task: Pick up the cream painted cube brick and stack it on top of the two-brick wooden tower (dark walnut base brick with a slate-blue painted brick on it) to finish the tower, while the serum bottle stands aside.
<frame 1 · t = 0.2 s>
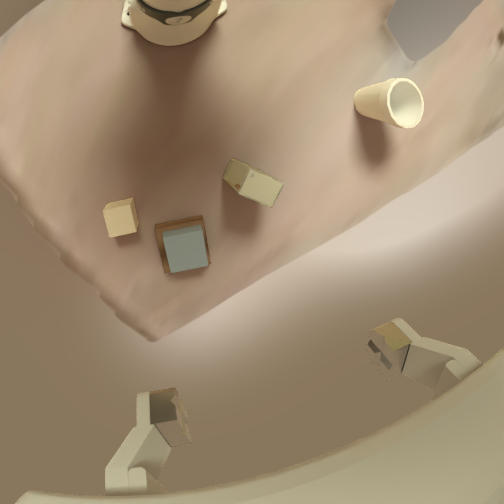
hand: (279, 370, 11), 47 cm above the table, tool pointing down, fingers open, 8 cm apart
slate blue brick: (185, 245, 56), point 2 cm above the table, touching walnut base brick
skincare box: (241, 174, 56), on the table
foam cup: (365, 102, 55), on the table
cream brick: (123, 213, 53), on the table
walnut base brick: (182, 240, 58), on the table, touching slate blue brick
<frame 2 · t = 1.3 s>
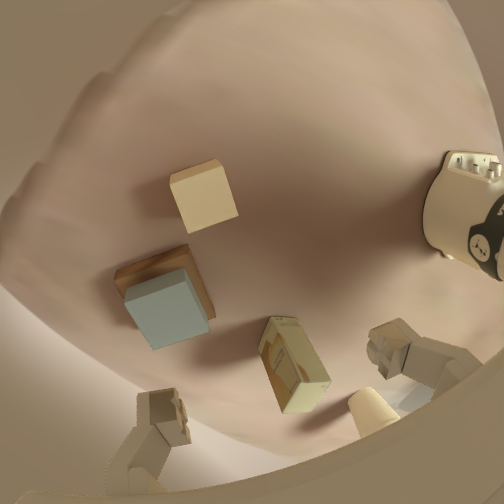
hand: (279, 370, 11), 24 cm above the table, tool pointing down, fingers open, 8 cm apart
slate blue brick: (167, 302, 33), point 2 cm above the table
skincare box: (276, 333, 43), on the table
foam cup: (360, 396, 57), on the table
cream brick: (200, 188, 32), on the table
walnut base brick: (166, 286, 36), on the table
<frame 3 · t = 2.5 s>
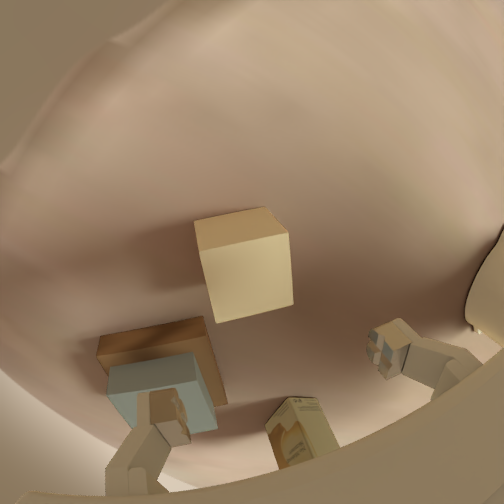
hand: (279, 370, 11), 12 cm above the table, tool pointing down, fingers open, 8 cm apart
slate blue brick: (164, 387, 23), point 2 cm above the table, touching walnut base brick
skincare box: (288, 411, 33), on the table
cream brick: (234, 245, 22), on the table
walnut base brick: (165, 360, 26), on the table, touching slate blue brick
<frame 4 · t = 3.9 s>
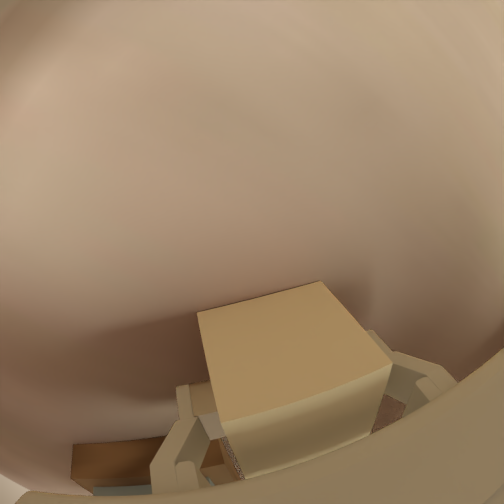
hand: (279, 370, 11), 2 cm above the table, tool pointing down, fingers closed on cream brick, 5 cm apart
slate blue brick: (168, 501, 14), point 2 cm above the table, touching walnut base brick
cream brick: (267, 343, 13), on the table, touching gripper
walnut base brick: (164, 463, 16), on the table, touching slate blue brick
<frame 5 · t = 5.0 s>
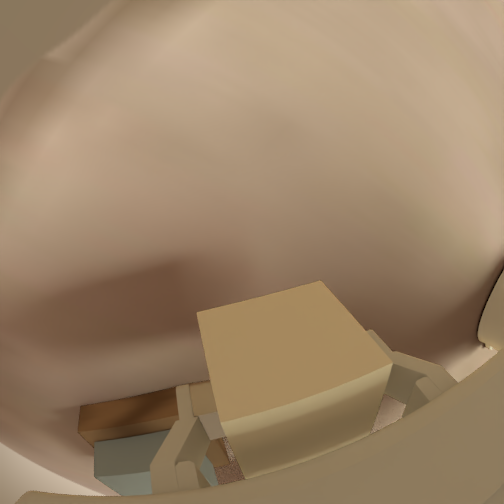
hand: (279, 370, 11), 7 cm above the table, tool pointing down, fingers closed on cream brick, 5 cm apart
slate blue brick: (157, 456, 18), point 2 cm above the table, touching walnut base brick
cream brick: (267, 343, 13), point 5 cm above the table, touching gripper
walnut base brick: (156, 424, 21), on the table, touching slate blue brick
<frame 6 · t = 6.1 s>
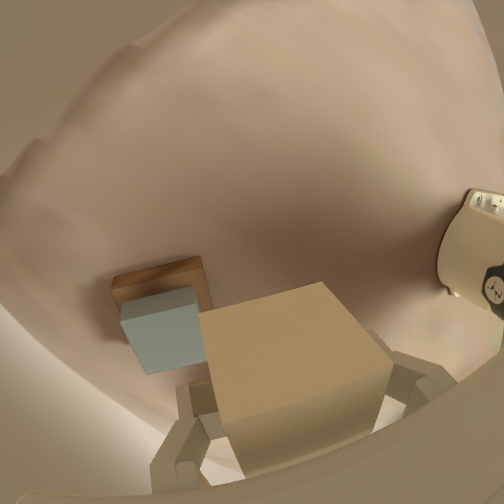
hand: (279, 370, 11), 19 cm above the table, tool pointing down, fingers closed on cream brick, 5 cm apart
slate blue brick: (167, 322, 29), point 3 cm above the table
cream brick: (268, 344, 13), point 18 cm above the table, touching gripper
walnut base brick: (168, 301, 31), on the table
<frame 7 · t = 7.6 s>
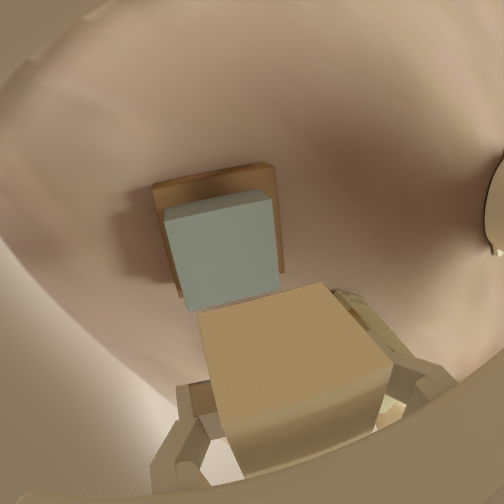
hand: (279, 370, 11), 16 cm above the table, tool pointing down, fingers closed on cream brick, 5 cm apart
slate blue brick: (220, 241, 23), point 2 cm above the table
skincare box: (333, 315, 33), on the table
foam cup: (385, 406, 48), on the table
cream brick: (267, 345, 13), point 14 cm above the table, touching gripper
walnut base brick: (217, 222, 26), on the table
when the fingers open (9 cm above the table, at t = 9.6 s): cream brick drops 2 cm, point 5 cm above the table.
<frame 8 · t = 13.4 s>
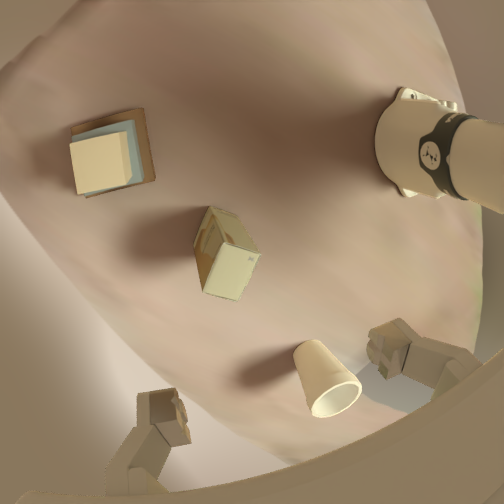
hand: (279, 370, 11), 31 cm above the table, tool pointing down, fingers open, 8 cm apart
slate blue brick: (111, 155, 32), point 2 cm above the table, touching walnut base brick
skincare box: (214, 230, 42), on the table
foam cup: (307, 351, 56), on the table
cream brick: (107, 157, 29), point 5 cm above the table
walnut base brick: (115, 151, 34), on the table, touching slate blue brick
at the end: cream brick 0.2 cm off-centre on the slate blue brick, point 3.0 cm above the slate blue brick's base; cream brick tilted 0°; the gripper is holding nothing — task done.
